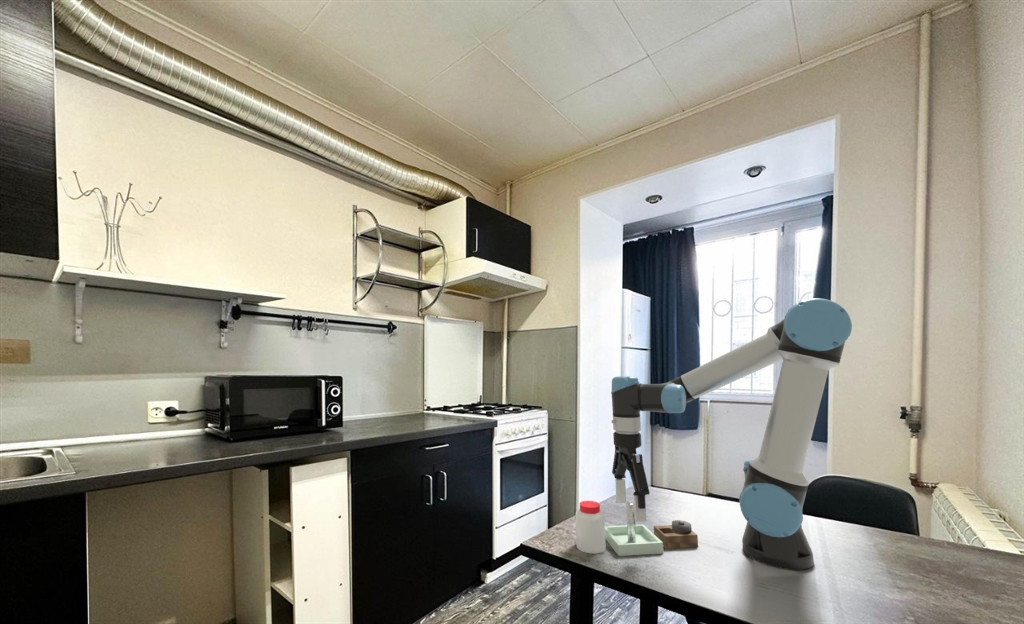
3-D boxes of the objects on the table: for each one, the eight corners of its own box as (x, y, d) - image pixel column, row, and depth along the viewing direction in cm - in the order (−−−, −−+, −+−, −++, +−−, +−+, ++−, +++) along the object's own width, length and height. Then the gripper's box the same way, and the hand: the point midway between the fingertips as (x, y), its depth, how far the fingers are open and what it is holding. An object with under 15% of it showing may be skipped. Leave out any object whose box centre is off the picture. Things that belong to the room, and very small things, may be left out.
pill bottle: (598, 556, 102) (596, 511, 104) (571, 548, 107) (570, 505, 108) (610, 545, 108) (608, 502, 110) (584, 538, 113) (583, 497, 114)
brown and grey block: (684, 535, 114) (683, 516, 115) (698, 546, 107) (696, 526, 108) (654, 537, 113) (653, 517, 114) (666, 548, 106) (664, 527, 107)
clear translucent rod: (636, 541, 109) (635, 502, 110) (635, 544, 107) (633, 505, 108) (628, 539, 110) (627, 501, 111) (627, 542, 108) (625, 504, 109)
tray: (643, 533, 115) (643, 524, 116) (663, 553, 103) (662, 542, 104) (603, 536, 114) (603, 526, 114) (618, 556, 102) (618, 545, 103)
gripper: (599, 425, 125) (602, 496, 122) (631, 440, 100) (635, 530, 97) (623, 424, 125) (626, 495, 123) (660, 439, 101) (665, 528, 98)
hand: (630, 511), depth 110 cm, fingers open, 13 cm apart
